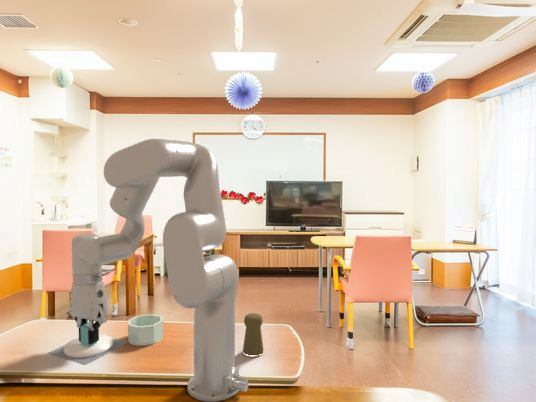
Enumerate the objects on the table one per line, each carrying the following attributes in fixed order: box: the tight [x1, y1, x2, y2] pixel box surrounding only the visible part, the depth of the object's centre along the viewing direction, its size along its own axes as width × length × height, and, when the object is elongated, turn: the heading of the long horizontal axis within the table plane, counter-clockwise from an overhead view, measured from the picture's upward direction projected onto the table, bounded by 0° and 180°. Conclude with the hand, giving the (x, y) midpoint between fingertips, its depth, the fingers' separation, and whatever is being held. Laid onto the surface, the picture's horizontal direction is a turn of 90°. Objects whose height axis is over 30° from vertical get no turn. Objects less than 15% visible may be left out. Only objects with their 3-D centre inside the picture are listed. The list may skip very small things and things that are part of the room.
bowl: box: [127, 313, 165, 347], centre depth 118 cm, size 10×10×6 cm
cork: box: [242, 312, 265, 355], centre depth 110 cm, size 6×6×11 cm
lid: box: [63, 322, 114, 358], centre depth 112 cm, size 13×13×6 cm
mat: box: [47, 337, 130, 366], centre depth 112 cm, size 15×15×1 cm
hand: (89, 340), depth 112 cm, fingers closed on lid, 3 cm apart
